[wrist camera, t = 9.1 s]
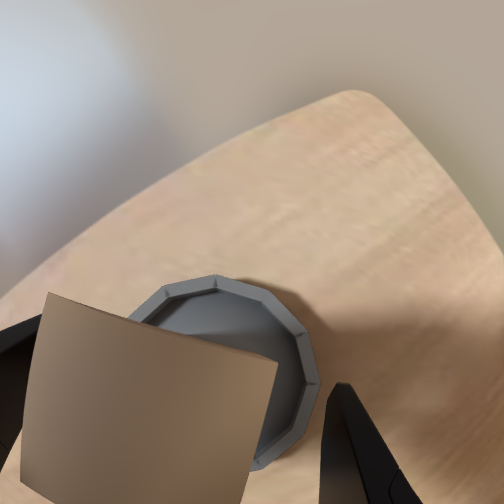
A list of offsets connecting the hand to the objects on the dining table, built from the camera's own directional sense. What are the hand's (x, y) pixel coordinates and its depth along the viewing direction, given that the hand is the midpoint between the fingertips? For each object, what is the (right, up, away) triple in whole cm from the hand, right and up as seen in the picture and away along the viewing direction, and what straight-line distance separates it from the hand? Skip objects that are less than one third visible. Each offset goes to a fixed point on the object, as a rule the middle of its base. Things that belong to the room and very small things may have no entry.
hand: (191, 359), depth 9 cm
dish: (0, -4, +8) cm, 9 cm away
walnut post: (0, -4, +7) cm, 8 cm away
